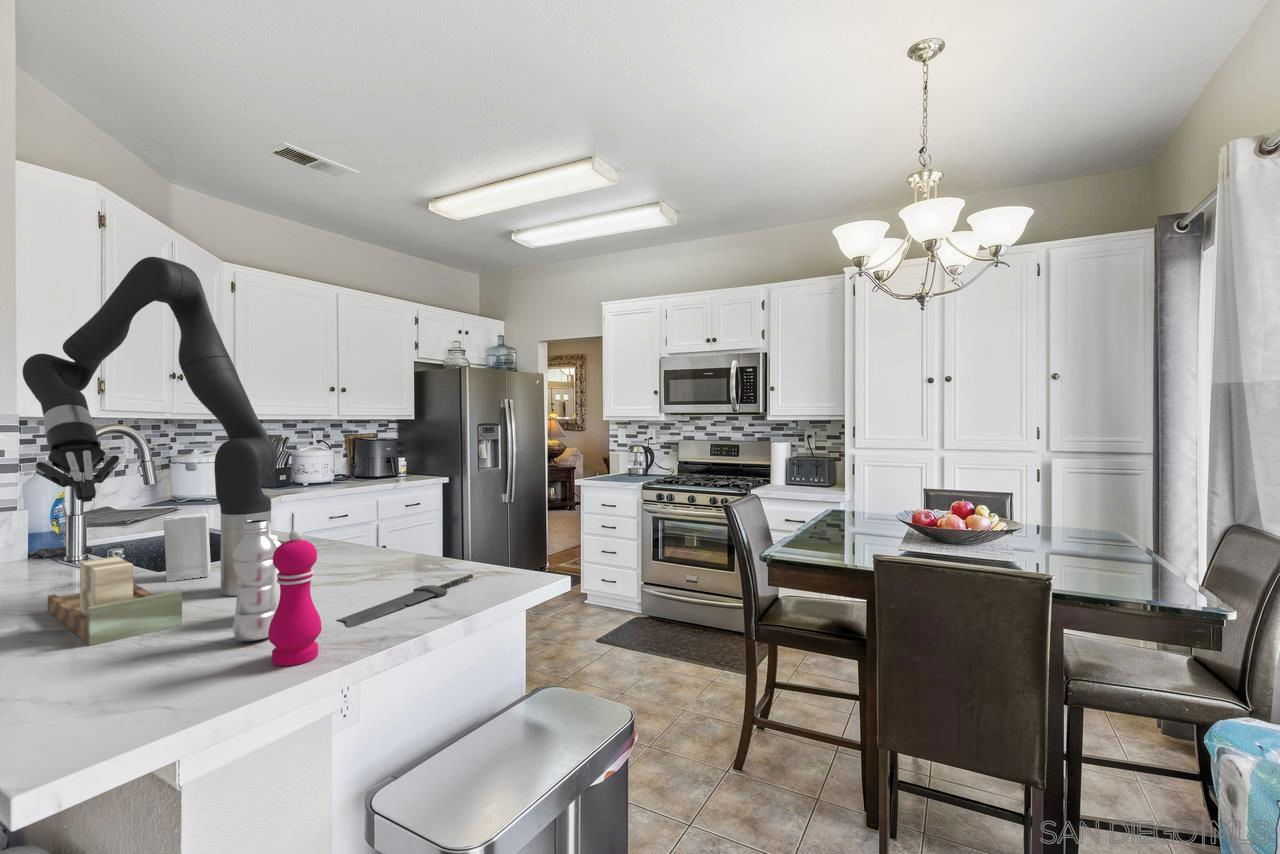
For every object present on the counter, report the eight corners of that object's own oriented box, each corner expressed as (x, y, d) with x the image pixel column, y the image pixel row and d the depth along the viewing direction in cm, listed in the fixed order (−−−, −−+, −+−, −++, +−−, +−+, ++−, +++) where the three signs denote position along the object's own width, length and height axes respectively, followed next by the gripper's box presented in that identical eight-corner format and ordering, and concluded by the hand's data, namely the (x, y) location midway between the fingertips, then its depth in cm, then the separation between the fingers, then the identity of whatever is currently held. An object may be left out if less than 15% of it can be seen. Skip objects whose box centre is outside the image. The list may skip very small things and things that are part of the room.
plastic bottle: (288, 634, 103) (288, 519, 103) (251, 648, 97) (251, 525, 97) (260, 630, 106) (260, 517, 105) (222, 643, 99) (222, 523, 99)
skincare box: (210, 572, 146) (210, 511, 146) (208, 578, 141) (208, 515, 141) (167, 577, 142) (167, 514, 141) (163, 582, 136) (163, 517, 136)
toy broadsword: (325, 628, 110) (325, 617, 110) (460, 578, 142) (459, 569, 141) (353, 634, 107) (352, 622, 107) (484, 581, 138) (483, 573, 138)
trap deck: (47, 610, 116) (47, 580, 116) (130, 595, 126) (130, 567, 126) (90, 645, 98) (90, 609, 98) (182, 625, 108) (182, 591, 108)
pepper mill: (282, 650, 96) (282, 526, 96) (329, 649, 97) (329, 526, 97) (258, 668, 89) (258, 534, 89) (308, 667, 90) (308, 534, 90)
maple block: (80, 614, 106) (80, 561, 106) (116, 607, 110) (116, 556, 110) (95, 626, 100) (95, 570, 100) (133, 618, 104) (133, 564, 104)
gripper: (25, 422, 117) (40, 494, 111) (114, 418, 127) (132, 483, 121) (25, 446, 121) (39, 516, 115) (111, 440, 131) (128, 504, 125)
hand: (87, 499), depth 118 cm, fingers closed
